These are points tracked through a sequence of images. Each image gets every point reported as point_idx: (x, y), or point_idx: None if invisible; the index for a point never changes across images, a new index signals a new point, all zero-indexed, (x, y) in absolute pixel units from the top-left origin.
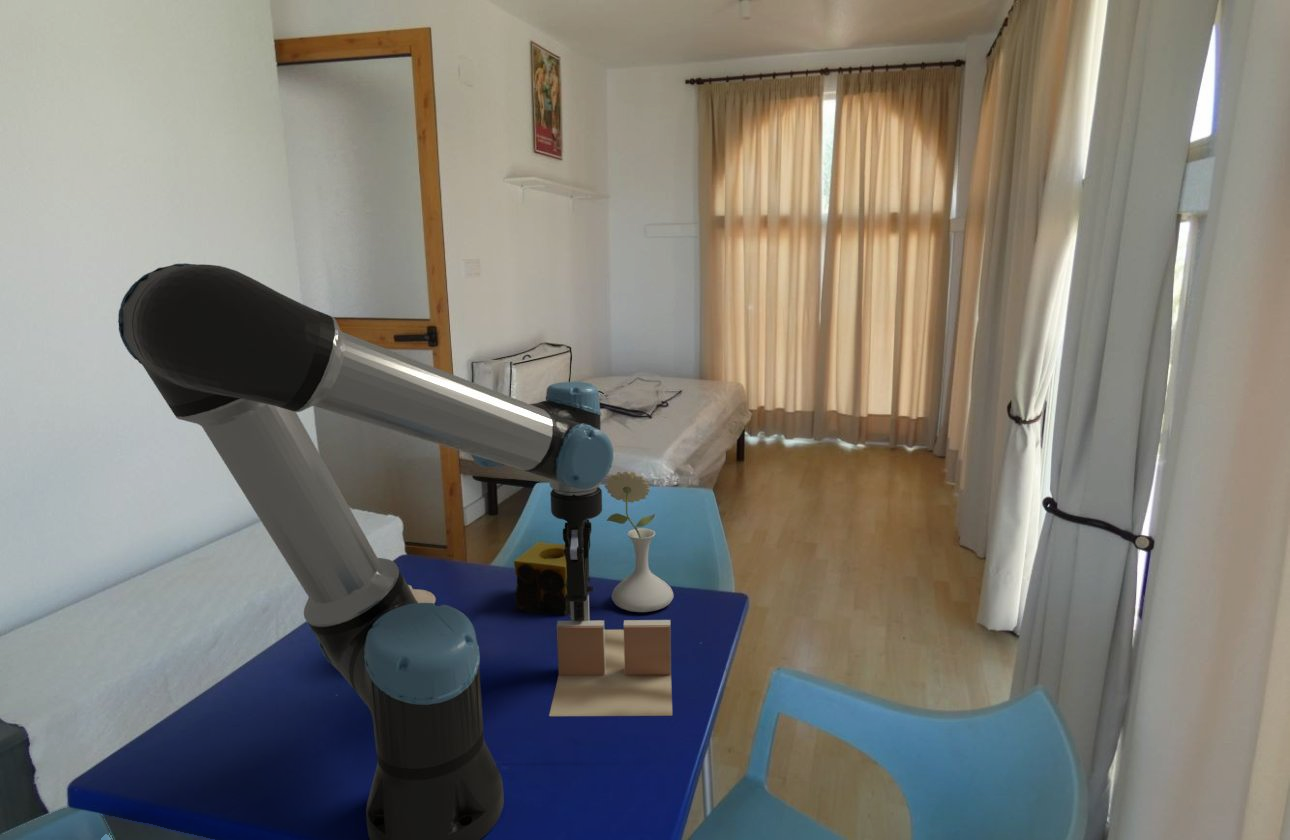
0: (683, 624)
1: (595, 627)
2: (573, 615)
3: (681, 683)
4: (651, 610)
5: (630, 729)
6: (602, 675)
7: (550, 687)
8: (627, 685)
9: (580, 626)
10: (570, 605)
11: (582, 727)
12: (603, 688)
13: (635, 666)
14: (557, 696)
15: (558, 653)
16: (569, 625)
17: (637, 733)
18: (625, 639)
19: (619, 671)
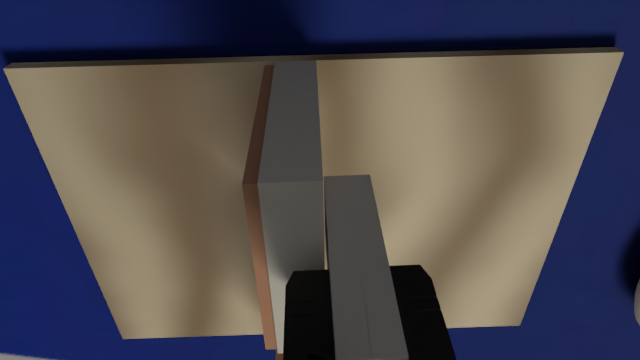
0: (549, 339)
1: (264, 329)
2: (329, 272)
3: None
4: (634, 298)
5: (59, 265)
6: None
7: (209, 33)
8: (229, 258)
9: (269, 280)
10: (334, 314)
11: (19, 164)
12: (205, 206)
13: None
14: (128, 79)
15: (257, 108)
16: (268, 241)
17: (49, 278)
18: (276, 355)
19: None
